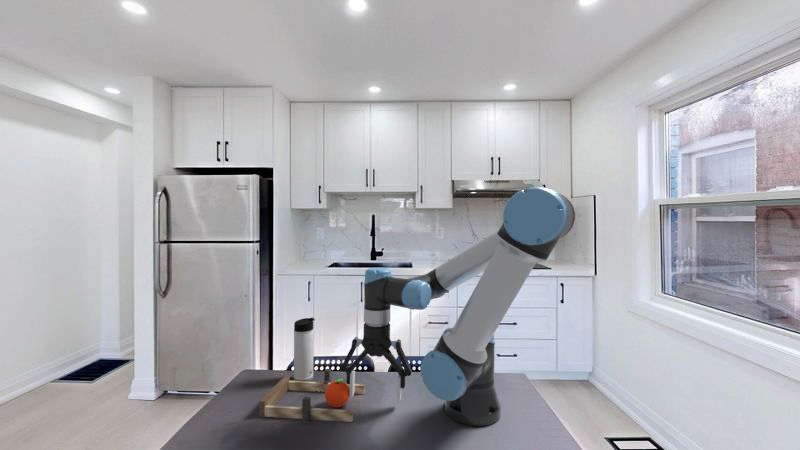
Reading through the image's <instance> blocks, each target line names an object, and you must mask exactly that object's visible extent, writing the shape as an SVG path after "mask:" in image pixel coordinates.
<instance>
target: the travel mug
mask: <svg viewBox="0 0 800 450" xmlns="http://www.w3.org/2000/svg"><path fill="white" fill-rule="evenodd" d="M314 321H315V318H314V317H307V318H300V319H297V320H295V321H294V323H293V324H294V325H293V326H294V328H293V331H294V332H293V381H307V382H312V380H313V379H314Z"/></svg>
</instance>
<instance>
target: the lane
mask: <svg viewBox="0 0 800 450" xmlns="http://www.w3.org/2000/svg"><path fill="white" fill-rule="evenodd" d="M323 375H324V378H323V379H324V381H323V382H322V381H309V382H307V381H294V380H291V378H290V377H291V376H290V375H284V376H283V377H282V378H281V379H280V380H279V381H278V382H277V383H276V384H275V385H274V386H273V387H272V388H271V389H270V390H269V391H268V392H267V393H266V394H265V395H264V396H263V397H262V398H261V399H260V400H259V410H258V411H259V415H258V416H259V417H268V418H269V417H270V418H285V419H286V418H287V419H296V420H297V419H300V420H301V421H302V424H309V422H310V421H311V420H315V421H316V420H317V421H331V422H345V423H346V422H347V423H353V421H354V410H353V409H352V410H351V409H339V408H338V409H336V408H335V409H334V408H321V407H319V408H318V407H312V405H311V396H304V397H303V399H302V401H301V402H302V403H301V405H302V407H301V406H287V405H286V406H285V405H277V403H278V402H279V401H280V400H281V399H282V398H283V397H284V395H286V393H287V392H288V391H298V392H300V391H301V392H315V391H318V392H319V393H325V392H326V389H327V387H328V386H329V384H330V383H332V369H331V368H325V370H324V374H323ZM346 384H347V383H346ZM347 385H348V388H349V391H350V384H347ZM365 389H366V385H365V384H364V383H359V384H358V383H355V394H356V395H365V391H366V390H365ZM320 391H321V392H320ZM355 394H354V395H355Z"/></svg>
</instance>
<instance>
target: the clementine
mask: <svg viewBox="0 0 800 450" xmlns="http://www.w3.org/2000/svg"><path fill="white" fill-rule="evenodd" d="M324 398H325V401H326V403H327V404H328V406H330V407H333V408H335V409H336V408H341V407H343V406H345V404H347V402H348V400H349V399H350V391H349V388H348V385H347V382H345V379H342V378H340V379H337V380H334V381H331V383H330V384H329V386H328V387H327V389H326V392H324Z"/></svg>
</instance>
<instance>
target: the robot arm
mask: <svg viewBox="0 0 800 450" xmlns="http://www.w3.org/2000/svg"><path fill="white" fill-rule="evenodd" d="M502 214H503V215H502V219H503V220H502V223H501V226H500V227H499V229H498V230H497V231H494V233H492V234H490V235H488V236H487V237H485V238H484V239H482V240H479V242H477V243H475V244H473V245H472V246H470V247H469V248H466V249H465V250H463V251H462V252H460V253H459V254H457V255H455V256H453V257H452V258H451V259H449V260H447V261H446V262H444V263H442V264H440V265H439V266H437V267H436V268H433V269H432V270H430V271H429V272H427V273H425V274H423V275H418V276H413V277H409V278H400V277H393V275H392V271H391V270H392V269H390V268H387V267H370V268H367V269H366V270H365V272H364V273H365V274H364V283H363V290H364V292H363V293H364V304H363V305H364V306H363V322H364V323H363V334H362V335H363V338H362V339H361V338H358V337H357V336H355V337H354V338H353V339H352V341H351V347H350V349H349V351H348V353H347V355H346V357H345V359H344V361H343V362H342V364H341V367H340V368H339V369H340V372H345V373H346V384H350V394H349V398H354V395H355V394H354V393H355V384H356V371H355V368H357V366H358V365H359V364H360V363H361V361H363V360H364V358H366V356H370V357H378V358H382V357H384V358H385V359H386V360H387V362H389V363H390V365H391V366H392V368H393V369H394V370H395V372H397V374H398V376H397V393H396V394H397V396H396V397H397V399H396V401H397V402H401V399H402V389H405V387H406V377H410V376H411V375H412V371H413V369H412V367H411V365H410V363H409V361H408V358H407V356H406V354H405V352H404V350H403V348H402V341H401V339H399V338H398V339H397V340H391V324H390V322H391V306H395V307H399V308H400V307H401V308H406V309H409V310H413V311H414V310H419V311H422V310H425V309H427V308H428V305H430V304H431V301H432V300H435V299H439V298H441V297H443V296H444V295H446V293H448V292H449V291H451V290H453V289H455V288H457V287H459V286H460V285H462V284H464V283H466V282H467V281H470V280H471V279H473V278H475V277H477V276H478V275H480V274H482V275H481V277H480V278H479V280H478V282H477V284H476V286H475V288H474V289H473V291H472V293H471V295H470V297H469V298H468V300H467V302H466V304H465V306H464V307H463V309H462V311H461V313H460V315H459V316H458V318H457V320H456V322H455V324H454V325H453V327H449V328H445V330H443V332H442V334H441V335H440V338H439V340H438V341H437V343H436V345H435V347H434V348H433V349H432V350H431V351H428V352H427V353H426V354H425V355H424V357H423V358H422V360H421V363H420V368H419V369H420V376H421V377H422V382H423V384H424V386H425V387H426V389H427V390H428V391H429V392H430V393H431V394H432V395H433V396H434V397H436V398H438V399H439V400H442V401H444V403H445V404H444V405H445V406H444V410H445V412H446V415H448V416H449V417H450V418H451V419H453V420H454V421H456V422H458V423H460V424H462V425H463V424H464V425H467V426H474V427H476V426H477V427H482V426H490V425H492V424H496V422H498V421H499V420H500V418H501V416H502V415H501V414H502V409H501V408H502V406H501V402H500V400H499V397H498V393H497V392H498V391H496V387H495V345H496V342H495V333H496V331H497V329H498V328H499V326H500V324H501V322H502V321H503V319H504V317H505V316H506V314H507V313H508V311H509V309H510V307H511V306H512V303H514V301H515V299H516V297H517V296H518V294H519V292H520V291H521V289H522V288H523V285H524V284H525V282H526V280H527V279H528V277H529V275H530V273H531V272H532V271H533V268H534V267H535V266H536V264H538V263H542V262H546V261H547V260H548V258H549V257H550V255H551V254H552V252H553V251H554V249H555V247H556V245H557V244H558V242H559V241H560V239H562V238H563V237H565V236H567V235H568V234H569V232H571V230H572V229H573V227H574V224H575V220H576V211H575V208H574V205H573V204H572V202H571V201H570V200H569V199H568V197H566V196H565V195H563V194H561V193H558V192H556V191H555V190H553V189H550V188H547V187H545V186H544V187H543V186H533V187H532V186H531V187H526V188H524V189H521V190H519V191H517V192H516V193H515V194H513V195H512V196H511V197H510V198H509V200H507V203H506V204H505V206H504V209H503V213H502ZM360 345H361V346H362V347H363V351H362V352H361V353H360V354H359V355H358V356H357V357H356V358H355V360H354V361H352V363H351V364H350V365H349V363H350V361H351V359H352V357H353V355H354V353H355V351H356V349H357V348H358V347H359V346H360ZM391 347H393V349H394V350H395V351H396V353H397V356H398V358H399V360H400V362H399V361H398V360H397V358H396V357H395V356H394V355H393V353H392V351H391V350H390V348H391Z"/></svg>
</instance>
